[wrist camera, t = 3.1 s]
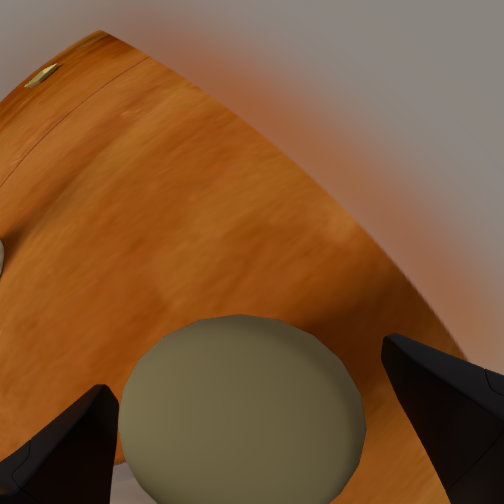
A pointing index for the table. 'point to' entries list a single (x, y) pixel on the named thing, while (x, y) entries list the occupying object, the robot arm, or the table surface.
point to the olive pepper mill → (241, 416)
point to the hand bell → (1, 256)
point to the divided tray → (127, 487)
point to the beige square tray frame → (41, 76)
